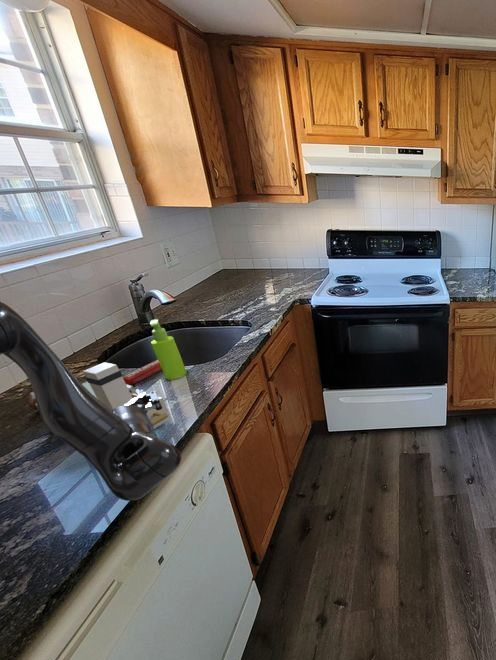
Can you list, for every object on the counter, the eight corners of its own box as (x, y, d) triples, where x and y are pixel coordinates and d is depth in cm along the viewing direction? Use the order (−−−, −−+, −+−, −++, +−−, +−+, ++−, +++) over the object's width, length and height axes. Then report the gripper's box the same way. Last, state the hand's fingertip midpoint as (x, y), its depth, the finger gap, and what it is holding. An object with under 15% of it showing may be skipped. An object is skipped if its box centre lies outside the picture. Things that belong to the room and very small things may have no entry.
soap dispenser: (165, 383, 117) (141, 326, 109) (165, 374, 122) (142, 319, 114) (187, 377, 120) (165, 321, 112) (186, 368, 125) (165, 315, 117)
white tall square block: (124, 431, 92) (94, 374, 85) (111, 428, 94) (81, 371, 87) (144, 420, 96) (117, 364, 89) (131, 417, 98) (104, 361, 91)
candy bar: (129, 387, 115) (125, 379, 114) (120, 386, 116) (116, 378, 115) (175, 363, 129) (172, 356, 128) (168, 362, 130) (165, 355, 129)
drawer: (182, 421, 97) (173, 400, 95) (133, 452, 87) (121, 430, 84) (135, 408, 103) (126, 388, 100) (84, 436, 93) (71, 415, 90)
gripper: (162, 399, 78) (146, 374, 88) (73, 432, 69) (66, 400, 79) (175, 427, 82) (157, 400, 92) (91, 462, 72) (82, 428, 82)
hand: (115, 400), depth 85 cm, fingers open, 8 cm apart
